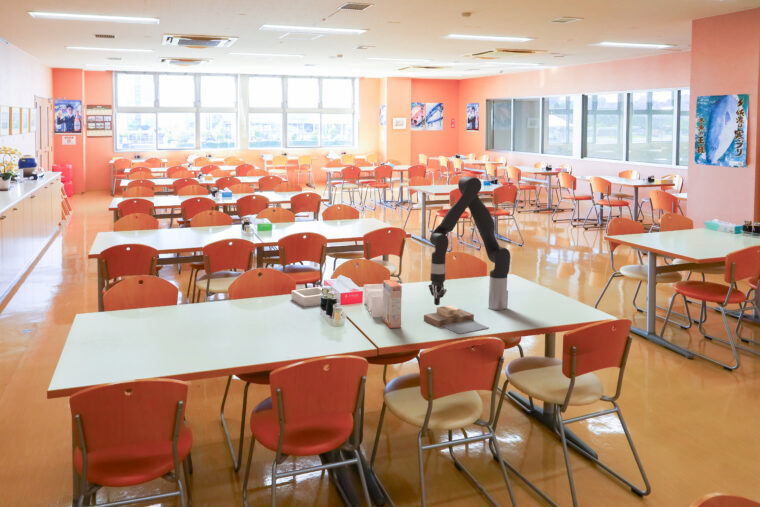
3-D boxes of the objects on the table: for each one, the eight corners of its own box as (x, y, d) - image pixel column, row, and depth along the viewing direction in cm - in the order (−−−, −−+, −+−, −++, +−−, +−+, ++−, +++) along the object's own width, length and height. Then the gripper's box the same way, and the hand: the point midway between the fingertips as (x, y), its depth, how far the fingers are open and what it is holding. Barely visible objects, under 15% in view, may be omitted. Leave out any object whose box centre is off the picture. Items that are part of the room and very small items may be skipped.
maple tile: (449, 310, 328) (449, 305, 327) (459, 314, 321) (459, 309, 321) (436, 313, 324) (436, 307, 323) (446, 317, 317) (446, 311, 317)
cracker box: (401, 328, 310) (402, 285, 306) (389, 328, 308) (390, 286, 304) (394, 319, 323) (394, 279, 319) (382, 320, 322) (382, 279, 318)
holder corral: (318, 295, 368) (318, 286, 367) (332, 302, 354) (332, 293, 353) (291, 299, 359) (291, 290, 358) (304, 306, 345) (303, 297, 344)
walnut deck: (458, 314, 333) (459, 308, 332) (473, 320, 323) (473, 314, 322) (423, 320, 322) (423, 314, 321) (438, 326, 312) (438, 320, 311)
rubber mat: (469, 320, 323) (469, 319, 323) (488, 328, 310) (488, 327, 310) (440, 325, 314) (440, 324, 314) (459, 334, 301) (459, 333, 301)
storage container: (393, 316, 329) (393, 295, 327) (372, 317, 327) (372, 296, 325) (383, 303, 353) (383, 283, 351) (363, 304, 351) (363, 284, 349)
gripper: (451, 273, 323) (450, 307, 326) (436, 268, 334) (435, 300, 337) (439, 275, 319) (438, 309, 322) (424, 270, 330) (423, 302, 333)
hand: (436, 304), depth 329 cm, fingers closed
